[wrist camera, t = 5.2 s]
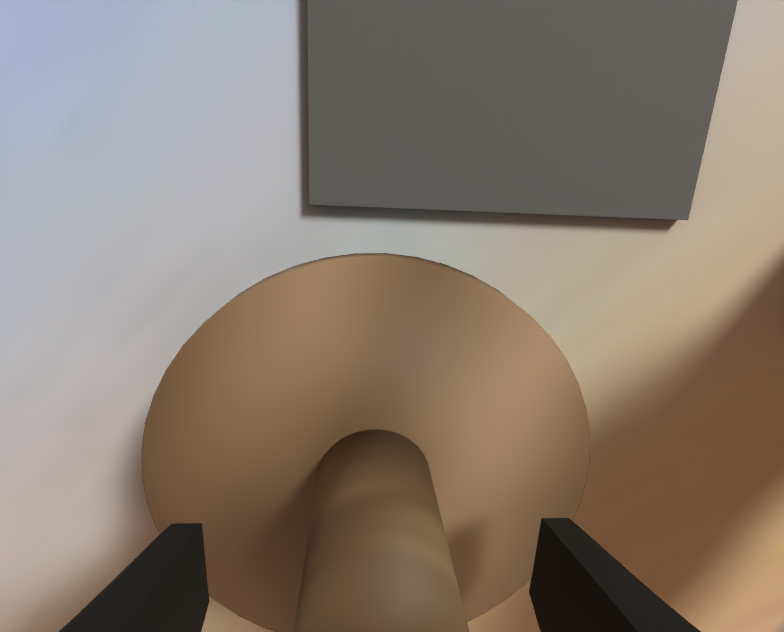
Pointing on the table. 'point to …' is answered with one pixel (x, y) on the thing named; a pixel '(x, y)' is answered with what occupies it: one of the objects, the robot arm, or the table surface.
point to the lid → (367, 446)
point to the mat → (513, 104)
